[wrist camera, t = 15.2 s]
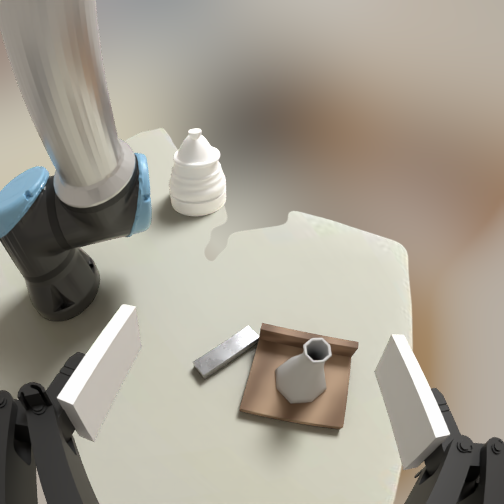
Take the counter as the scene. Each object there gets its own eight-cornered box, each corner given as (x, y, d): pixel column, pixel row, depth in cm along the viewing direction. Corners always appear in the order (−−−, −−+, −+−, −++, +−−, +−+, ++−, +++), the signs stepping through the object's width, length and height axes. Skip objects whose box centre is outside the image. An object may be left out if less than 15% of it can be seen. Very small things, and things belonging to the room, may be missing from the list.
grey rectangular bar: (194, 367, 40) (192, 362, 38) (247, 331, 45) (248, 325, 43) (204, 380, 39) (203, 375, 37) (258, 342, 43) (259, 336, 42)
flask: (266, 366, 39) (274, 333, 32) (312, 350, 41) (330, 314, 33) (286, 412, 34) (301, 390, 27) (334, 392, 36) (360, 365, 29)
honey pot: (231, 211, 64) (232, 136, 51) (172, 220, 62) (162, 144, 49) (220, 181, 73) (220, 114, 60) (170, 188, 70) (162, 121, 57)
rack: (239, 410, 35) (239, 402, 32) (260, 337, 43) (262, 322, 40) (339, 429, 33) (350, 422, 30) (348, 355, 42) (358, 342, 38)
